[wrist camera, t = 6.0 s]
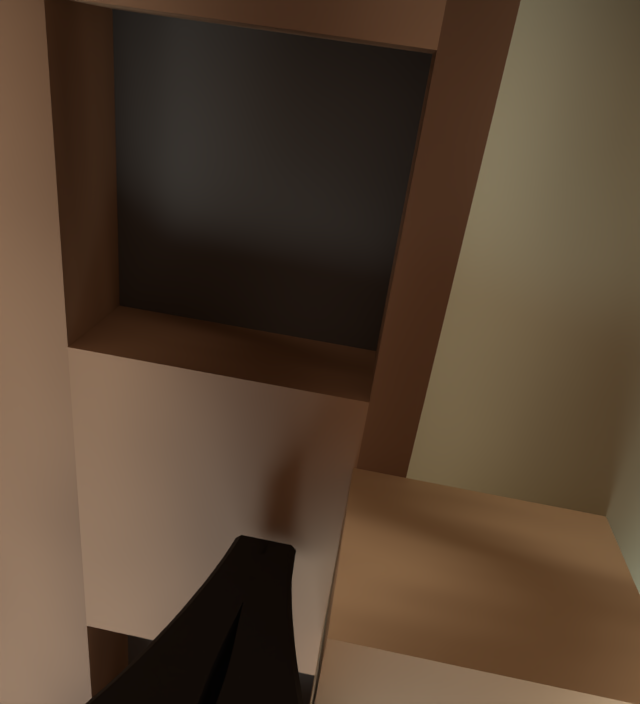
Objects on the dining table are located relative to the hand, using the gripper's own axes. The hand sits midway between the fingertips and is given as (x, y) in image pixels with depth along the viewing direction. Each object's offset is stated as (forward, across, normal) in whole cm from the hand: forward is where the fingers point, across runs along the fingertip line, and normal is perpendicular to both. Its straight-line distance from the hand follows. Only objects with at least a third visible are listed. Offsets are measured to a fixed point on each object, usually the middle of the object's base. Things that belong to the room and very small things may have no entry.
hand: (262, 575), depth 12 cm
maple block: (+1, -4, 0) cm, 4 cm away
